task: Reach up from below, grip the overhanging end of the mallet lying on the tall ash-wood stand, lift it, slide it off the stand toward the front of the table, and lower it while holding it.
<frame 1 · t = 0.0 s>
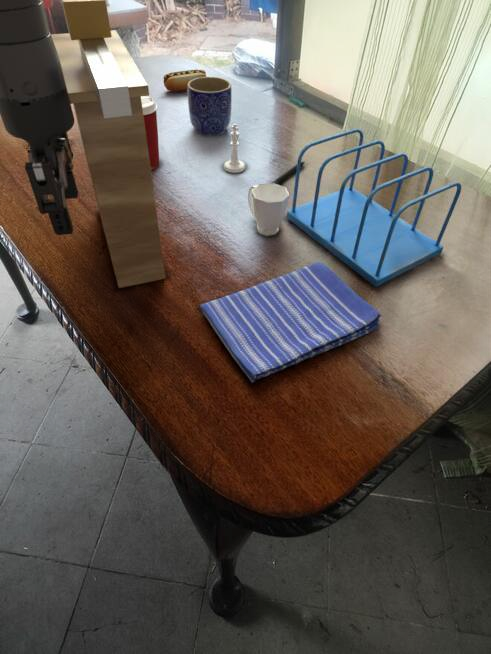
hand: (67, 214, 60), 17 cm above the table, tool pointing down, fingers open, 8 cm apart
hot dog: (186, 90, 138), on the table
pen: (286, 177, 103), on the table
cup: (263, 226, 89), on the table
stand: (129, 243, 84), on the table
decorative insect model: (51, 143, 112), on the table
file sorter: (360, 236, 88), on the table
chess piece: (234, 168, 105), on the table
mallet: (112, 103, 51), point 31 cm above the table, touching stand
planter: (210, 130, 119), on the table
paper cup: (147, 165, 105), on the table
dish towel: (289, 320, 72), on the table
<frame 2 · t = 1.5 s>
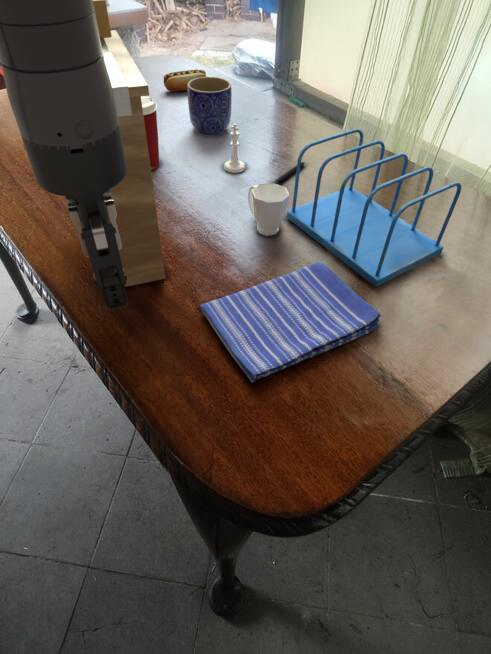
hand: (110, 278, 47), 20 cm above the table, tool pointing down, fingers open, 8 cm apart
nothing on the table moved.
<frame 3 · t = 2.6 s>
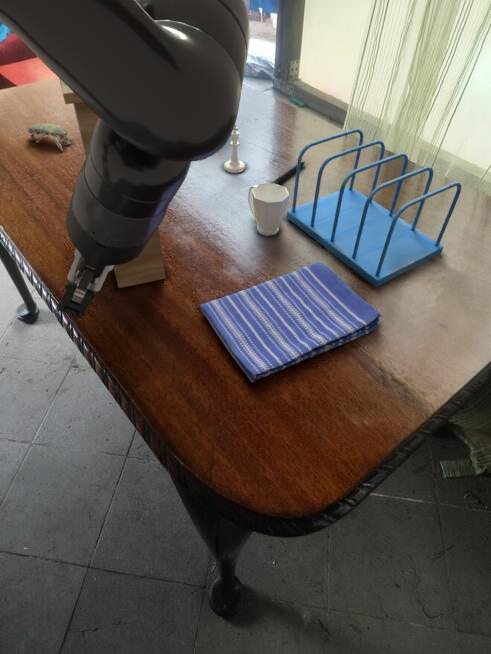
hand: (87, 273, 53), 16 cm above the table, tool tilted 35°, fingers open, 8 cm apart
nothing on the table moved.
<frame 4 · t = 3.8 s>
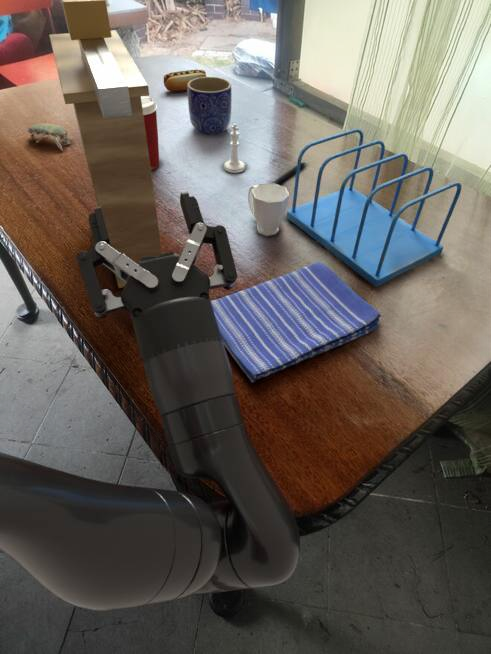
hand: (141, 203, 45), 27 cm above the table, tool pointing upward, fingers open, 8 cm apart
nothing on the table moved.
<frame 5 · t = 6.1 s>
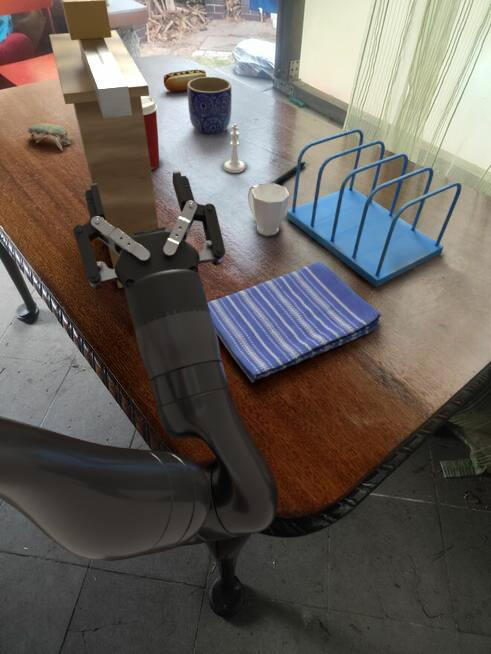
hand: (135, 181, 47), 27 cm above the table, tool pointing upward, fingers open, 8 cm apart
nothing on the table moved.
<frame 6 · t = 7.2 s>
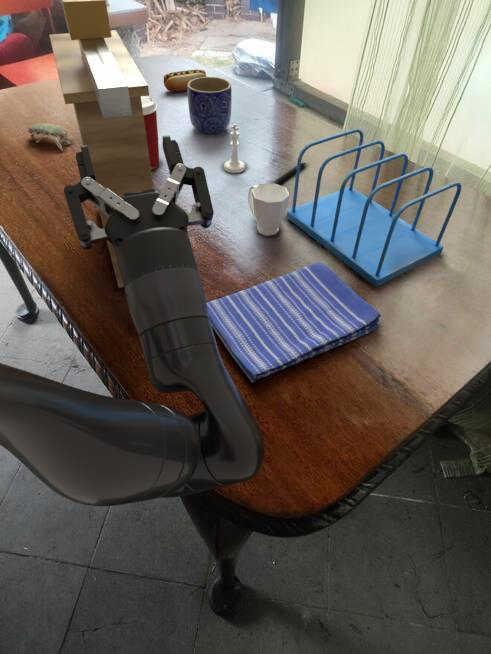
hand: (125, 145, 48), 29 cm above the table, tool pointing upward, fingers open, 8 cm apart
nothing on the table moved.
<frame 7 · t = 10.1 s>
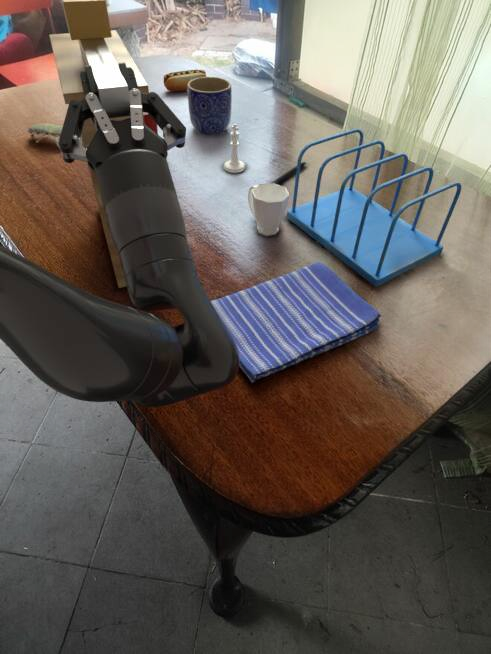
hand: (105, 70, 50), 34 cm above the table, tool pointing upward, fingers closed on mallet, 3 cm apart
mallet: (112, 103, 51), point 31 cm above the table, touching gripper, stand
everything else where it was.
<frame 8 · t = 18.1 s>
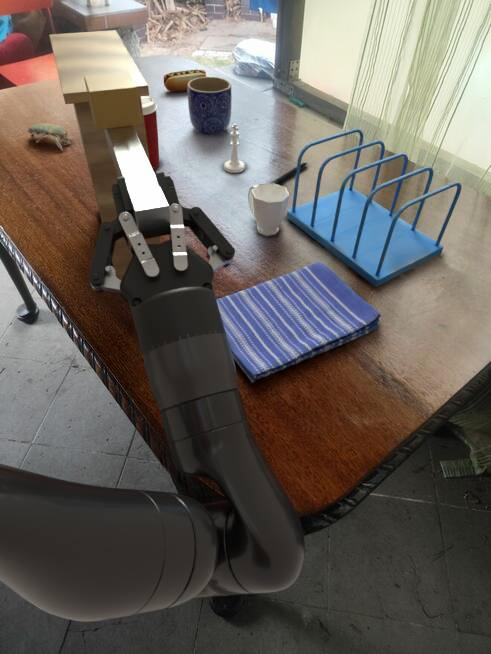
hand: (140, 179, 43), 29 cm above the table, tool pointing upward, fingers closed on mallet, 3 cm apart
mallet: (147, 214, 44), point 26 cm above the table, touching gripper
everything else where it was.
at the end: the gripper is holding mallet; mallet touching gripper; mallet moved 16.7 cm from its start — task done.
